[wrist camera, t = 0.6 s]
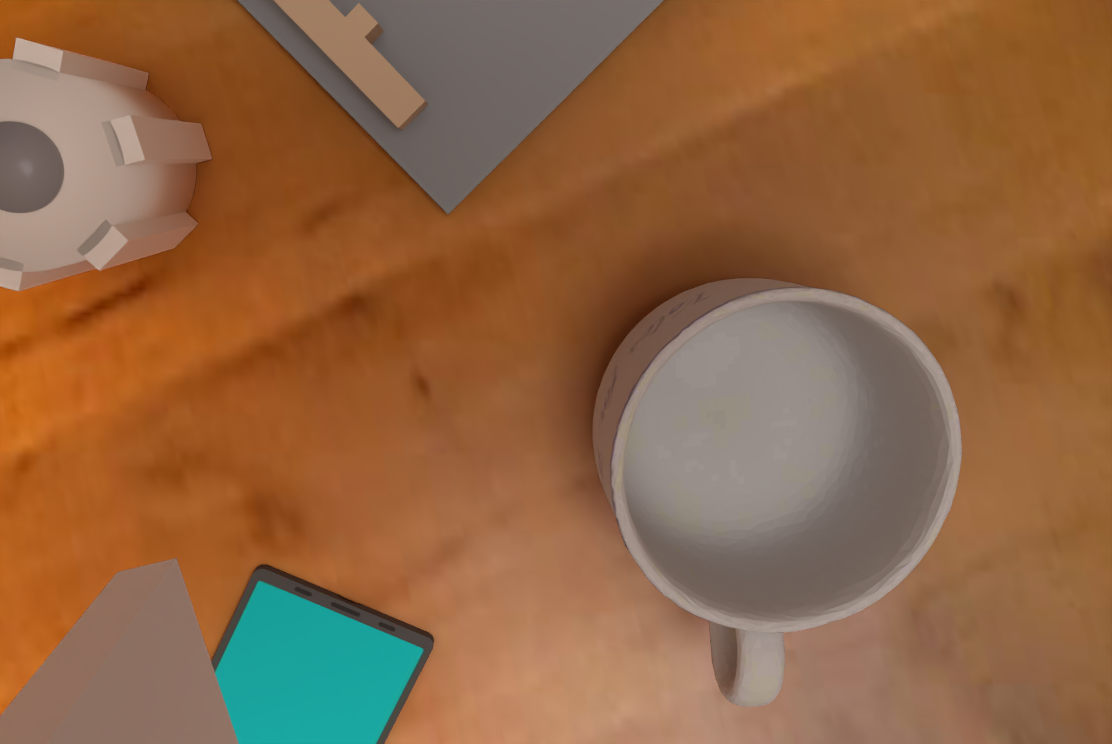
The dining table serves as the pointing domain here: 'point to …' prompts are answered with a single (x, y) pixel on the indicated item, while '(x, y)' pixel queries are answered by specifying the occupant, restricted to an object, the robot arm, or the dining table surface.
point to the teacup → (774, 462)
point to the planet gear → (87, 166)
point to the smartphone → (314, 665)
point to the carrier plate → (449, 71)
